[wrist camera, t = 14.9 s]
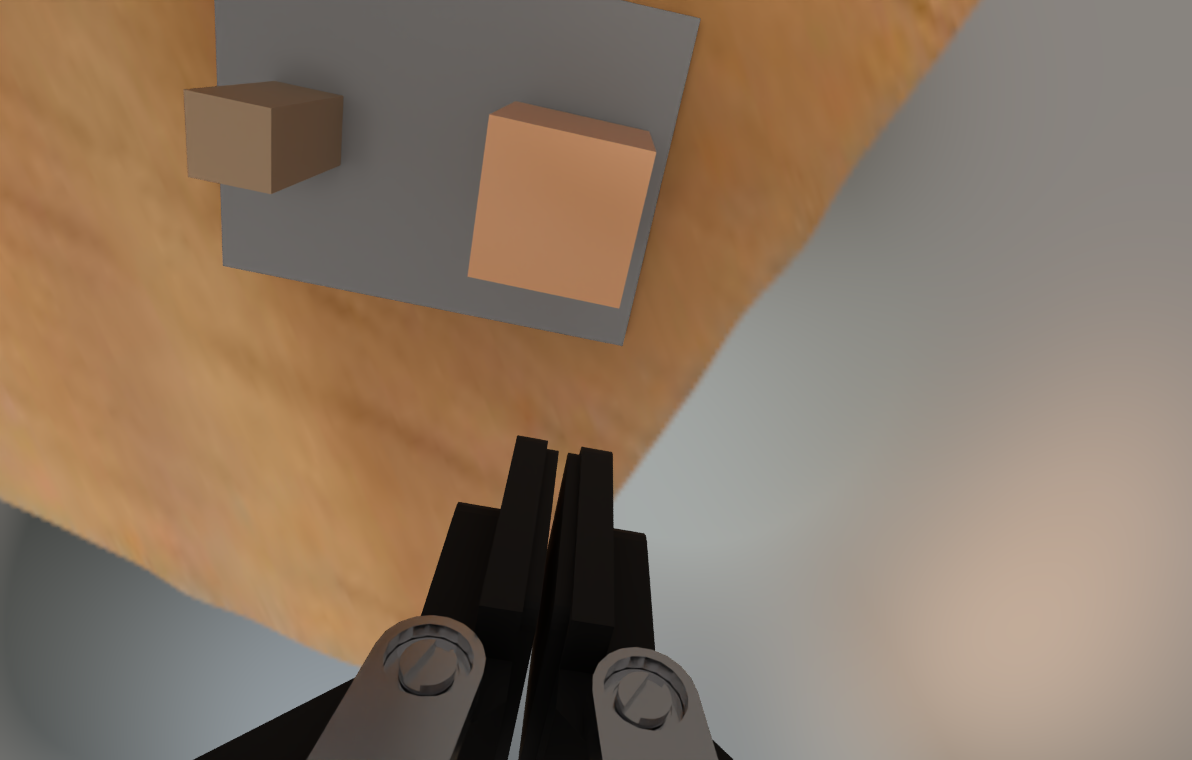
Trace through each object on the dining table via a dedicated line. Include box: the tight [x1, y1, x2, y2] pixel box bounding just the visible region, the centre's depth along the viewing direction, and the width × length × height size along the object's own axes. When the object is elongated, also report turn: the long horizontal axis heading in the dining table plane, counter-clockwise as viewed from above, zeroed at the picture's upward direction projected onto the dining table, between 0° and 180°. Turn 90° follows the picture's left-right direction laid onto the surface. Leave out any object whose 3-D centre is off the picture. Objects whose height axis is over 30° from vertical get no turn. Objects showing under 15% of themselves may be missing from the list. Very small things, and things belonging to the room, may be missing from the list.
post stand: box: [184, 0, 700, 346], centre depth 29 cm, size 15×20×8 cm
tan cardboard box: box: [467, 101, 656, 308], centre depth 28 cm, size 6×6×7 cm
